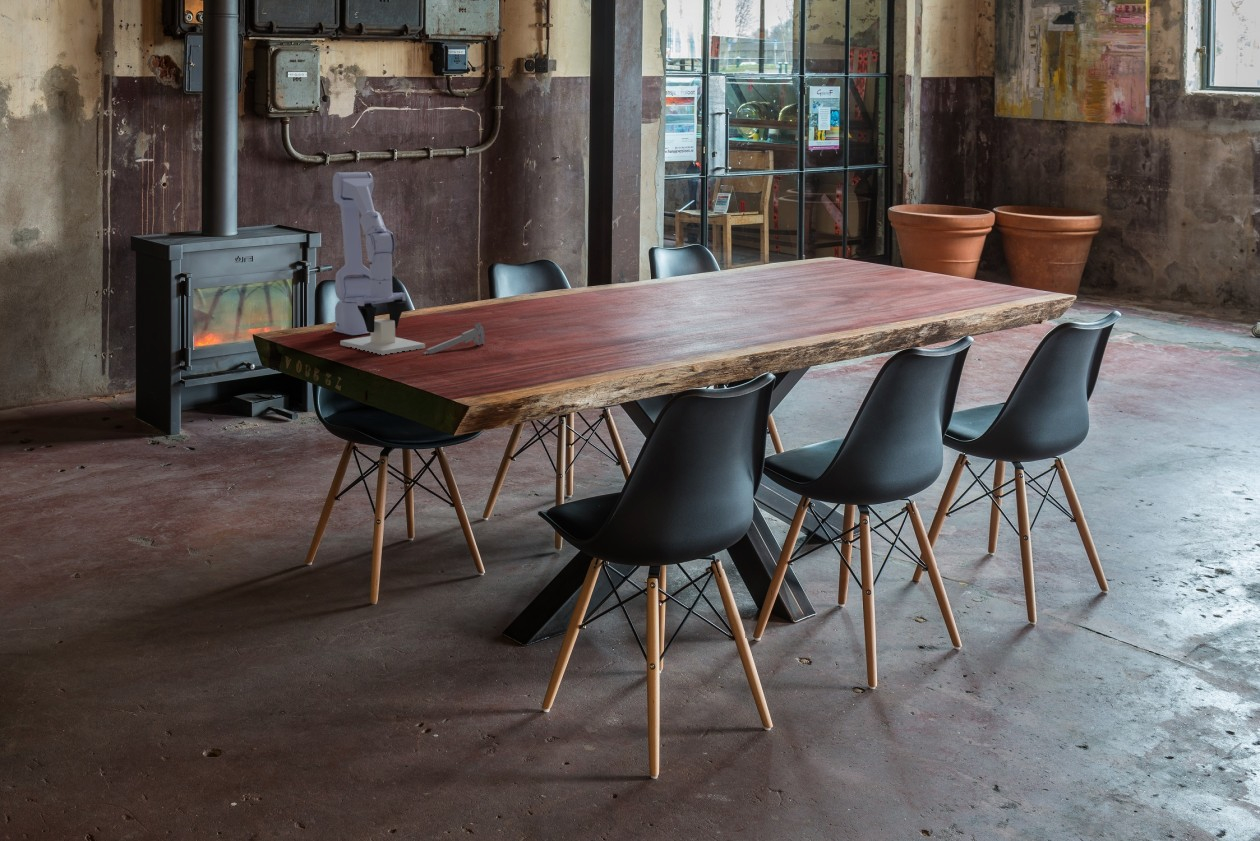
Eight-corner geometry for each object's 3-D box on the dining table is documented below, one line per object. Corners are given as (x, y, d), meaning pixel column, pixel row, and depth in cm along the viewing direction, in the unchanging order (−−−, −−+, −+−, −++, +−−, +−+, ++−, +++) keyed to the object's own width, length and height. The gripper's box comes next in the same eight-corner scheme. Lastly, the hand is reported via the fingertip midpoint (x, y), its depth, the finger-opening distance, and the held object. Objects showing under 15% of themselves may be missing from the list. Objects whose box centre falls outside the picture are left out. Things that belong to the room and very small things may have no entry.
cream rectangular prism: (370, 342, 369) (369, 320, 368) (384, 339, 372) (384, 318, 371) (381, 344, 366) (380, 322, 365) (395, 342, 369) (394, 320, 368)
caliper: (481, 345, 376) (481, 322, 374) (484, 345, 375) (484, 322, 374) (422, 355, 361) (422, 331, 360) (425, 355, 360) (425, 331, 359)
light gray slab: (340, 345, 370) (339, 324, 369) (382, 338, 380) (382, 318, 379) (382, 355, 359) (381, 334, 357) (425, 348, 369) (424, 327, 367)
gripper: (367, 283, 357) (369, 335, 361) (412, 277, 368) (413, 328, 371) (351, 280, 362) (352, 331, 365) (395, 275, 372) (397, 325, 376)
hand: (382, 330), depth 368 cm, fingers open, 7 cm apart
